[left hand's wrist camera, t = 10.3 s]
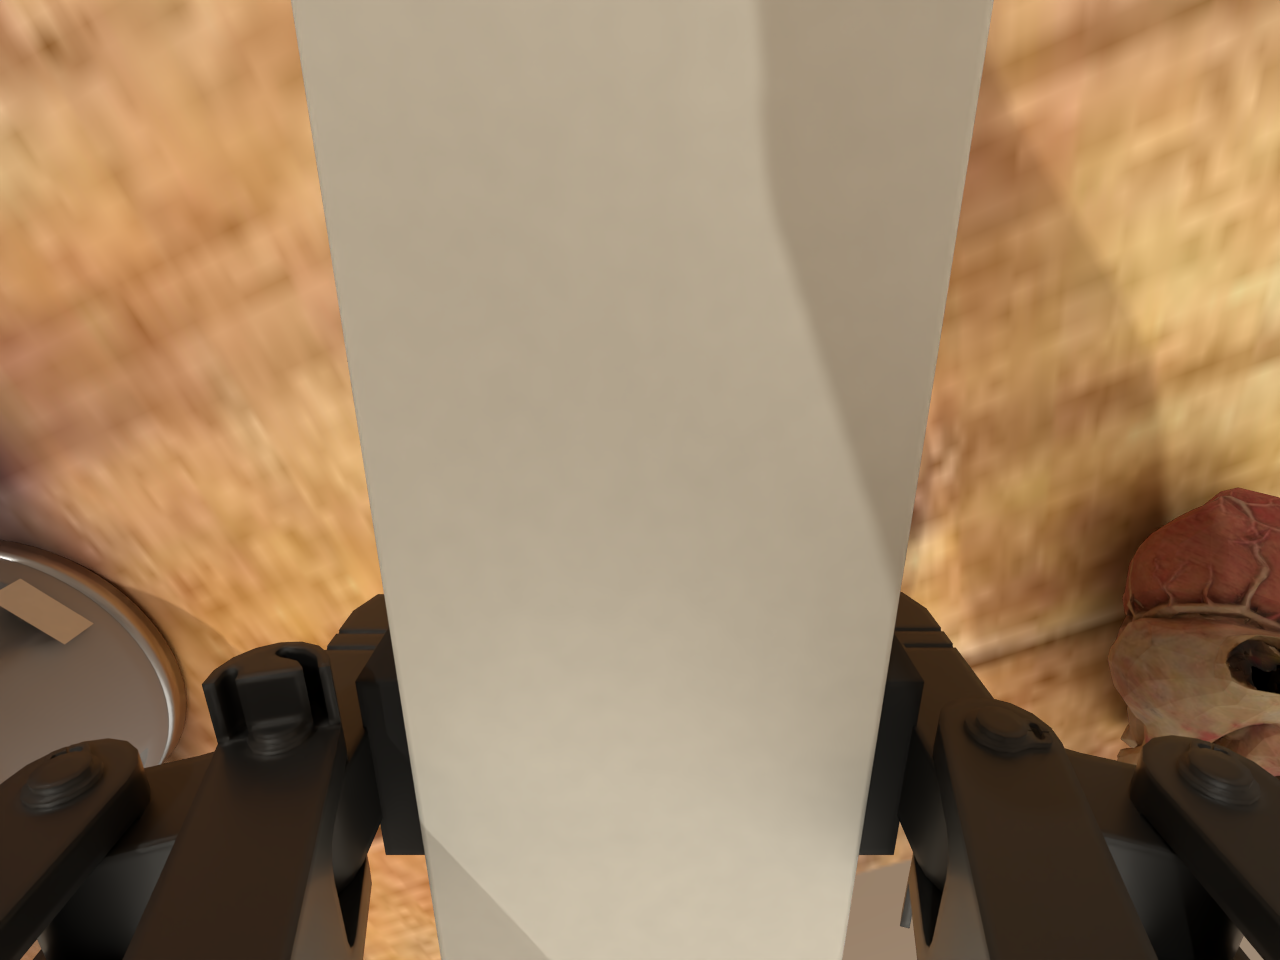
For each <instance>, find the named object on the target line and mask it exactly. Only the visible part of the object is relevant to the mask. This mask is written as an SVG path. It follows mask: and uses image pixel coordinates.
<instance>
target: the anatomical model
mask: <svg viewBox="0 0 1280 960" xmlns="http://www.w3.org/2000/svg"><path fill="white" fill-rule="evenodd" d="M1122 600H1123V604H1124V612H1125V614H1126V617H1125V619H1124V621H1123V623H1122V625H1121V627H1120V629H1119V632H1118V635H1117V639H1116V641H1115V642H1114V644H1113V645H1112V646H1111V648H1110V651H1109V654H1108V658H1107V659H1108V663H1109V667H1110V672H1111V676H1112V680H1113V685H1114V687H1115V688H1116V689H1117V691H1118V692H1119V694H1120V695H1121V697H1122V698H1123V700H1124V701H1125V703H1126V704H1127V706H1128V707H1127V714H1128V720H1129V725H1128V726H1127V727H1126V729H1125V731H1124V733H1123V735H1122V737H1121V740H1123V741H1124V742H1125V743H1126V744H1128V745H1129V746H1130V747H1132V748H1125V749H1121V750H1120V752H1119V754H1118V755H1117V757H1118V759H1117V761H1120V762H1124V763H1129V764H1133V765H1137V762H1138V759H1139V756H1140V753H1141V750H1142V747H1143V746H1144V745H1145V744H1146V743H1147V742H1148V741H1150V740H1151V739H1152V738H1155V737H1162V736H1169V735H1175V736H1183V737H1190V738H1197V739H1201V740H1204V741H1208V742H1210V743H1213V744H1214V743H1215V744H1218V745H1220V746H1223V747H1226V748H1228V749H1230V750H1232V751H1234V752H1236V753H1238V754H1240V755H1242V756H1244V757H1246V758H1248V759H1250V760H1252V761H1254V762H1255V763H1256V764H1258V765H1259V766H1261V767H1262V768H1263V769H1265V770H1266V771H1268V772H1269V773H1270V774H1272V775H1273V776H1274V777H1276V778H1277V779H1279V780H1280V498H1279V497H1275V496H1271V495H1267V494H1263V493H1258V492H1254V491H1250V490H1246V489H1242V488H1234V489H1230V490H1226V491H1222V492H1220V493H1218V494H1217V495H1216V496H1215V497H1213V498H1212V499H1211V500H1210V501H1208V502H1207V503H1206V504H1204V505H1203V506H1201V507H1198V508H1196V509H1193V510H1191V511H1189V512H1187V513H1185V514H1183V515H1181V516H1179V517H1177V518H1176V519H1174V520H1172V521H1171V522H1169V523H1168V524H1166V525H1165V526H1163V527H1161V528H1160V529H1158V530H1157V531H1155V532H1153V533H1152V534H1151V535H1150V536H1149V537H1148V538H1147V539H1146V540H1145V541H1144V542H1143V543H1142V544H1141V545H1140V546H1139V548H1138V550H1137V552H1136V553H1135V555H1134V557H1133V559H1132V560H1131V562H1130V564H1129V569H1128V575H1127V581H1126V587H1125V592H1124V595H1123V599H1122Z"/></svg>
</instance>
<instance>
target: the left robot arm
mask: <svg viewBox="0 0 1280 960" xmlns="http://www.w3.org/2000/svg"><path fill="white" fill-rule="evenodd" d="M202 687H203V691H204V694H205V698H206V701H207V705H208V709H209V712H210V716H211V720H212V723H213V727H214V731H215V734H216V738H217V741H218V745H217V748H216V750H215V752H211V753H208V754H204V755H201V756H197V757H192V758H188V759H183V760H179V761H174V762H169V763H165V764H163V763H164V762H165V761H166V760H167V758H168V757H169V756H170V755H171V753H172V752H173V751H174V749H175V748H176V746H177V744H178V742H179V740H180V738H181V735H182V732H183V729H184V724H185V719H186V706H187V704H186V692H185V687H184V682H183V678H182V675H181V672H180V669H179V666H178V664H177V662H176V659H175V657H174V655H173V653H172V651H171V649H170V648H169V646H168V644H167V642H166V641H165V639H164V638H163V636H162V635H161V633H160V632H159V630H158V629H157V628H156V627H155V625H154V624H153V623H152V622H151V620H150V619H149V618H148V617H147V616H146V615H145V614H144V613H143V612H142V611H141V610H140V608H139V607H138V606H137V605H135V604H134V603H133V602H132V601H131V600H130V599H129V598H128V597H127V596H126V595H124V594H123V593H122V592H121V591H119V590H118V589H117V588H115V587H114V586H113V585H112V584H110V583H109V582H107V581H106V580H104V579H103V578H101V577H100V576H98V575H97V574H95V573H93V572H91V571H90V570H88V569H86V568H85V567H83V566H81V565H79V564H77V563H75V562H73V561H71V560H68V559H66V558H64V557H61V556H59V555H56V554H54V553H51V552H49V551H46V550H42V549H39V548H36V547H33V546H29V545H24V544H20V543H16V542H9V541H3V540H0V960H20V959H21V958H22V957H23V955H24V954H25V953H26V952H27V951H28V949H29V948H30V947H31V946H32V944H33V943H34V942H35V941H36V940H38V942H39V944H40V947H41V950H40V951H39V953H38V954H37V955H36V956H35V958H34V959H33V960H363V954H364V946H365V937H366V928H367V920H368V911H369V902H370V894H371V885H372V882H371V874H370V867H369V862H368V857H367V853H368V851H369V848H370V846H371V844H372V841H373V839H374V837H375V835H376V832H377V830H378V828H379V825H381V830H382V836H383V841H384V847H385V853H386V855H425V852H424V845H423V839H422V833H421V826H420V820H419V813H418V807H417V801H416V794H415V788H414V782H413V775H412V769H411V762H410V756H409V750H408V743H407V737H406V730H405V724H404V718H403V711H402V705H401V699H400V692H399V686H398V679H397V673H396V667H395V660H394V654H393V648H392V641H391V635H390V628H389V622H388V616H387V609H386V603H385V596H384V594H378V595H376V596H375V597H373V598H372V599H370V600H369V601H367V602H366V603H364V604H363V605H361V606H360V607H358V608H357V609H355V610H354V611H353V612H352V613H351V615H350V616H349V617H348V619H347V620H346V621H345V623H344V624H343V625H342V627H341V628H340V630H339V634H336V635H335V636H334V638H333V639H332V640H331V642H330V643H329V644H328V646H327V650H323V649H322V648H321V647H320V646H318V645H314V644H309V643H305V642H281V643H276V644H272V645H267V646H263V647H258V648H255V649H253V650H250V651H248V652H245V653H243V654H241V655H238V656H236V657H233V658H232V659H230V660H229V661H227V662H226V663H224V664H223V665H221V666H220V667H218V668H217V669H215V670H214V671H213V672H212V673H211V674H210V676H209V677H208V678H207V679H206V680H205V681H204V683H203V684H202ZM899 822H900V823H901V825H902V828H903V830H904V832H905V835H906V837H907V839H908V841H909V844H910V846H911V848H912V851H913V857H912V862H911V867H910V872H909V877H908V883H907V888H906V893H905V898H904V903H903V909H902V915H901V923H900V926H902V927H906V928H910V922H911V917H912V918H913V926H914V935H915V944H916V953H917V960H1250V959H1249V958H1248V957H1247V955H1246V954H1245V953H1244V952H1243V950H1242V949H1241V948H1240V947H1239V945H1240V943H1241V941H1242V938H1243V936H1245V938H1246V939H1247V940H1248V941H1249V942H1250V944H1251V945H1252V946H1253V947H1254V948H1255V949H1256V951H1257V952H1258V953H1259V954H1260V956H1261V957H1262V958H1263V959H1264V960H1280V780H1279V779H1277V778H1276V777H1274V776H1273V775H1272V774H1270V773H1269V772H1268V771H1266V770H1265V769H1263V768H1262V767H1261V766H1259V765H1258V764H1256V763H1255V762H1254V761H1252V760H1250V759H1248V758H1246V757H1244V756H1242V755H1240V754H1238V753H1236V752H1234V751H1232V750H1230V749H1228V748H1226V747H1223V746H1220V745H1218V744H1215V743H1214V744H1213V743H1210V742H1208V741H1204V740H1201V739H1197V738H1190V737H1183V736H1175V735H1169V736H1162V737H1155V738H1152V739H1151V740H1150V741H1148V742H1147V743H1146V744H1145V745H1144V746H1143V747H1142V750H1141V753H1140V756H1139V759H1138V762H1137V765H1133V764H1129V763H1124V762H1120V761H1115V760H1110V759H1106V758H1101V757H1097V756H1092V755H1087V754H1083V753H1079V752H1075V751H1072V750H1068V749H1065V748H1064V746H1063V744H1062V742H1061V741H1060V740H1059V738H1058V737H1057V735H1056V734H1055V733H1054V731H1053V730H1052V729H1051V727H1049V726H1048V725H1047V724H1045V723H1044V722H1043V721H1042V720H1040V719H1039V718H1038V717H1036V716H1035V715H1034V714H1032V713H1030V712H1028V711H1026V710H1024V709H1022V708H1020V707H1017V706H1015V705H1013V704H1011V703H1008V702H1004V701H1000V700H996V699H994V698H993V697H992V696H991V694H990V693H989V692H988V690H987V689H986V688H985V686H984V685H983V684H982V682H981V681H980V680H979V678H978V677H977V676H976V674H975V673H974V671H973V670H972V669H971V667H970V666H969V665H968V663H967V662H966V661H965V659H964V658H963V657H962V655H961V654H960V653H959V651H958V650H957V649H956V648H953V643H952V642H951V641H950V639H949V638H948V637H947V635H946V634H945V633H944V631H941V627H940V626H939V625H938V623H937V622H936V621H935V619H934V618H933V617H932V615H931V614H930V613H929V611H928V610H927V609H926V608H925V607H923V606H922V605H920V604H919V603H917V602H916V601H914V600H913V599H911V598H910V597H908V596H907V595H905V594H904V593H902V592H900V596H899V603H898V609H897V615H896V622H895V628H894V634H893V641H892V647H891V653H890V660H889V666H888V672H887V679H886V685H885V691H884V698H883V704H882V710H881V717H880V723H879V729H878V736H877V742H876V748H875V754H874V761H873V767H872V773H871V780H870V786H869V792H868V799H867V805H866V811H865V818H864V824H863V830H862V837H861V843H860V849H859V855H894V850H895V844H896V839H897V833H898V827H899Z"/></svg>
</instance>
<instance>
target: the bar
mask: <svg viewBox="0 0 1280 960" xmlns="http://www.w3.org/2000/svg"><path fill="white" fill-rule="evenodd" d="M993 1H994V0H291V3H292V9H293V16H294V22H295V29H296V35H297V41H298V48H299V54H300V60H301V67H302V73H303V80H304V86H305V92H306V99H307V105H308V112H309V118H310V124H311V131H312V137H313V143H314V150H315V156H316V163H317V169H318V175H319V182H320V188H321V194H322V201H323V207H324V214H325V220H326V226H327V233H328V239H329V246H330V252H331V258H332V265H333V271H334V277H335V284H336V290H337V297H338V303H339V309H340V316H341V322H342V328H343V335H344V341H345V348H346V354H347V360H348V367H349V373H350V380H351V386H352V392H353V399H354V405H355V411H356V418H357V424H358V431H359V437H360V443H361V450H362V456H363V462H364V469H365V475H366V482H367V488H368V494H369V501H370V507H371V514H372V520H373V526H374V533H375V539H376V545H377V552H378V558H379V565H380V571H381V577H382V584H383V590H384V596H385V603H386V609H387V616H388V622H389V628H390V635H391V641H392V648H393V654H394V660H395V667H396V673H397V679H398V686H399V692H400V699H401V705H402V711H403V718H404V724H405V730H406V737H407V743H408V750H409V756H410V762H411V769H412V775H413V782H414V788H415V794H416V801H417V807H418V813H419V820H420V826H421V833H422V839H423V845H424V852H425V858H426V864H427V871H428V877H429V884H430V890H431V896H432V903H433V909H434V915H435V922H436V928H437V935H438V941H439V947H440V954H441V960H842V957H843V951H844V944H845V938H846V932H847V925H848V919H849V912H850V906H851V900H852V894H853V887H854V881H855V875H856V868H857V862H858V856H859V849H860V843H861V837H862V830H863V824H864V818H865V811H866V805H867V799H868V792H869V786H870V780H871V773H872V767H873V761H874V754H875V748H876V742H877V736H878V729H879V723H880V717H881V710H882V704H883V698H884V691H885V685H886V679H887V672H888V666H889V660H890V653H891V647H892V641H893V634H894V628H895V622H896V615H897V609H898V603H899V596H900V590H901V584H902V577H903V571H904V565H905V558H906V552H907V546H908V539H909V533H910V527H911V520H912V514H913V508H914V501H915V495H916V489H917V482H918V476H919V470H920V463H921V457H922V451H923V444H924V438H925V432H926V425H927V419H928V413H929V406H930V400H931V394H932V387H933V381H934V375H935V368H936V362H937V356H938V349H939V343H940V337H941V330H942V324H943V318H944V311H945V305H946V299H947V292H948V286H949V280H950V274H951V267H952V261H953V255H954V248H955V242H956V236H957V229H958V223H959V217H960V210H961V204H962V198H963V191H964V185H965V179H966V172H967V166H968V160H969V153H970V147H971V141H972V134H973V128H974V122H975V115H976V109H977V103H978V96H979V90H980V84H981V77H982V71H983V65H984V58H985V52H986V46H987V39H988V33H989V27H990V20H991V14H992V8H993Z"/></svg>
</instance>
